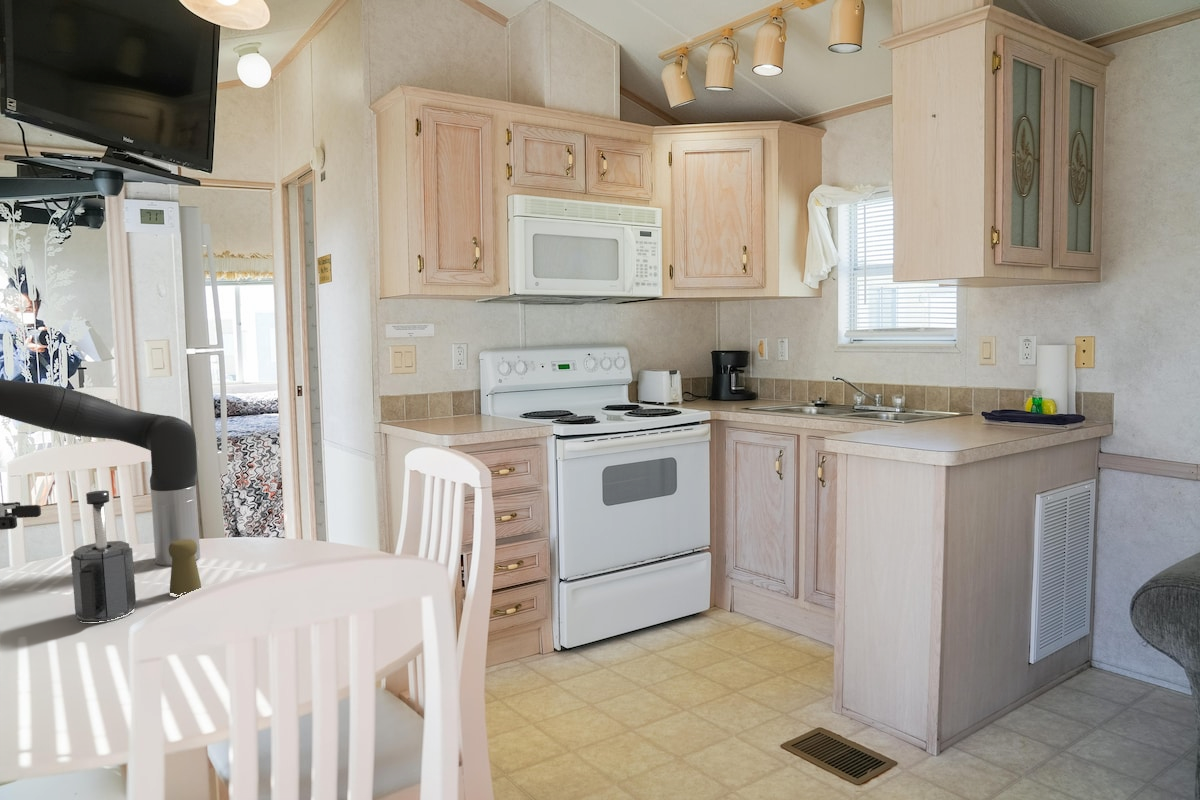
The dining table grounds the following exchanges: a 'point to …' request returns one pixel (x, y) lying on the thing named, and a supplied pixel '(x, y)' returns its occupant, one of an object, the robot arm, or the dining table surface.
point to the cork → (183, 567)
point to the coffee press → (103, 581)
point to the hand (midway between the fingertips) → (28, 516)
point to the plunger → (99, 516)
